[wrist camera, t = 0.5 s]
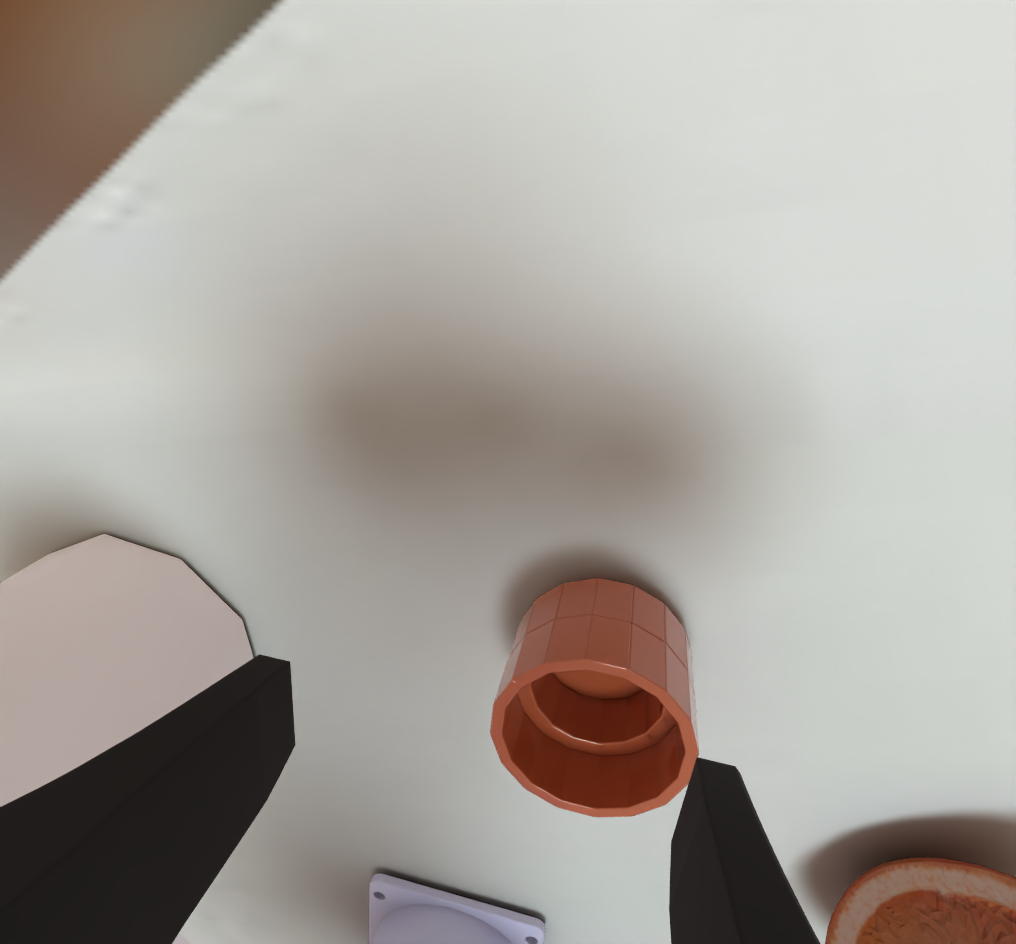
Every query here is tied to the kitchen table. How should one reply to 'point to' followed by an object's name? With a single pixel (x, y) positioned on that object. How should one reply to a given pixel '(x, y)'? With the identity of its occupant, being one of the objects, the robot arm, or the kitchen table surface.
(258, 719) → the robot arm
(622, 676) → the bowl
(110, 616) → the toilet paper
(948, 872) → the fruit slice
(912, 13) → the kitchen table surface
